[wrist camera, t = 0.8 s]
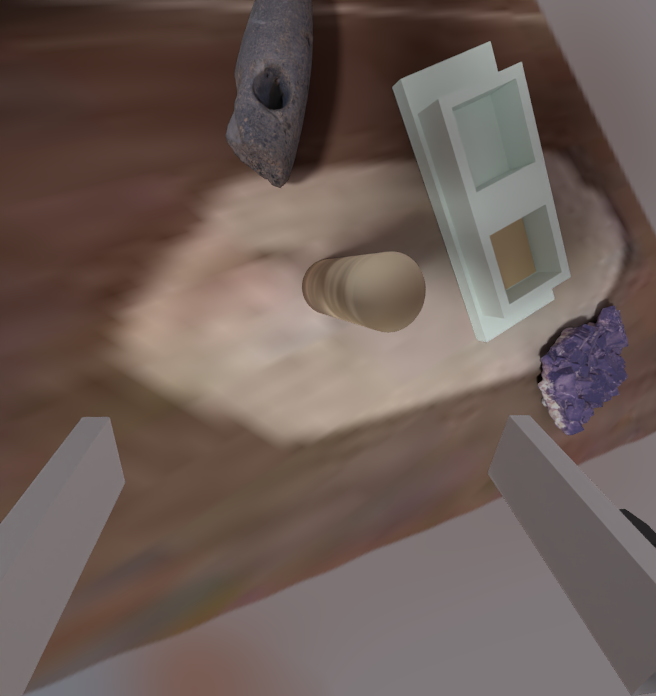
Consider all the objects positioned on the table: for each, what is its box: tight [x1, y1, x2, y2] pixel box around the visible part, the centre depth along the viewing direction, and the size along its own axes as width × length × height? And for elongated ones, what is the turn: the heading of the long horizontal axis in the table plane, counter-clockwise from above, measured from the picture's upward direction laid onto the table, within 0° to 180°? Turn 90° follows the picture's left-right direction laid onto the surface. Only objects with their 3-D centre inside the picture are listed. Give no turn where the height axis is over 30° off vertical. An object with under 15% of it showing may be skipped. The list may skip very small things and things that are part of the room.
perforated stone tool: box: [226, 0, 313, 188], centre depth 26 cm, size 15×5×7 cm, turn 168°
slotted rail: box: [392, 41, 571, 342], centre depth 36 cm, size 26×10×4 cm, turn 27°
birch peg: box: [302, 251, 426, 332], centre depth 29 cm, size 5×5×12 cm
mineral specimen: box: [538, 306, 628, 435], centre depth 45 cm, size 11×14×4 cm
